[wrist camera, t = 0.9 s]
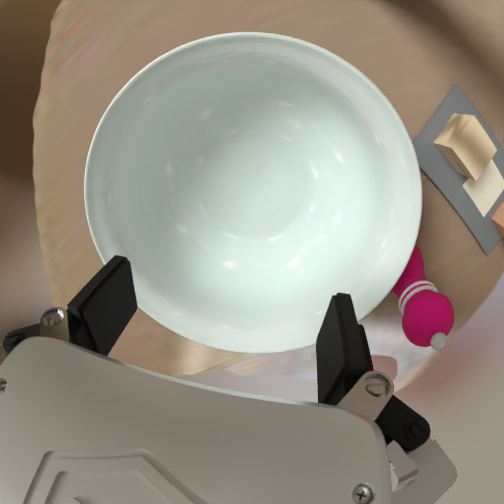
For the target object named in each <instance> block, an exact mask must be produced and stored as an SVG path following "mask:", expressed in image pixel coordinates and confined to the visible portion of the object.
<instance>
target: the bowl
mask: <svg viewBox="0 0 504 504" xmlns="http://www.w3.org/2000/svg"><path fill="white" fill-rule="evenodd" d="M84 197H85V207H86V214H87V220H88V224H89V228H90V232H91V235H92V238H93V241H94V243H95V246H96V248H97V251H98V253H99V255H100V257H101V258H102V260H103V262H104V264H106V263H107V262H108V261H109V260H110V259H111V258H113V257H114V256H115V255H119V256H124V257H127V259H128V260H129V261H130V263H131V269H132V276H133V282H134V288H135V294H136V299H137V306H138V307H139V308H141V309H142V310H143V311H144V312H146V313H147V314H148V315H149V316H151V317H152V318H153V319H155V320H156V321H158V322H159V323H161V324H162V325H164V326H165V327H167V328H169V329H171V330H172V331H174V332H176V333H178V334H180V335H182V336H184V337H186V338H188V339H191V340H193V341H196V342H198V343H201V344H204V345H207V346H211V347H214V348H218V349H223V350H228V351H234V352H243V353H275V352H283V351H290V350H295V349H299V348H304V347H307V346H311V345H314V344H316V339H317V336H318V333H319V331H320V328H321V325H322V323H323V320H324V317H325V314H326V312H327V309H328V306H329V303H330V300H331V297H332V295H336V294H337V293H338V292H339V293H347V294H350V295H351V298H352V302H353V306H354V310H355V314H356V318H357V322H359V321H360V320H361V319H363V318H364V317H365V316H366V315H368V314H369V313H370V312H371V311H372V310H373V309H374V308H375V307H376V306H377V305H378V304H379V303H380V302H381V301H382V300H383V299H384V298H385V297H386V296H387V295H388V293H389V292H390V291H391V289H392V288H393V287H394V285H395V284H396V283H397V281H398V279H399V278H400V276H401V275H402V273H403V271H404V269H405V267H406V265H407V263H408V261H409V259H410V257H411V254H412V252H413V249H414V246H415V243H416V240H417V237H418V232H419V228H420V222H421V215H422V181H421V173H420V168H419V163H418V159H417V155H416V152H415V148H414V145H413V143H412V140H411V138H410V136H409V133H408V131H407V129H406V127H405V125H404V123H403V121H402V119H401V118H400V116H399V114H398V113H397V111H396V110H395V108H394V107H393V105H392V104H391V103H390V101H389V100H388V99H387V97H386V96H385V95H384V94H383V93H382V91H381V90H380V89H379V88H378V87H377V86H376V85H375V84H374V83H373V82H372V81H371V80H370V79H369V78H368V77H367V76H366V75H364V74H363V73H362V72H361V71H359V70H358V69H357V68H355V67H354V66H353V65H351V64H350V63H348V62H347V61H345V60H344V59H342V58H341V57H339V56H337V55H336V54H334V53H332V52H330V51H328V50H326V49H324V48H322V47H319V46H317V45H314V44H312V43H309V42H307V41H304V40H300V39H297V38H293V37H289V36H284V35H278V34H272V33H261V32H236V33H227V34H219V35H214V36H210V37H206V38H202V39H199V40H196V41H192V42H190V43H187V44H184V45H182V46H179V47H177V48H175V49H173V50H171V51H169V52H167V53H166V54H164V55H162V56H160V57H159V58H157V59H156V60H154V61H153V62H151V63H150V64H148V65H147V66H146V67H144V68H143V69H142V70H141V71H140V72H138V73H137V74H136V75H135V76H134V77H133V78H132V79H131V80H130V81H129V82H128V83H127V84H126V85H125V86H124V87H123V88H122V89H121V90H120V92H119V93H118V94H117V95H116V97H115V98H114V99H113V101H112V102H111V104H110V105H109V107H108V108H107V110H106V111H105V113H104V115H103V117H102V118H101V120H100V122H99V125H98V127H97V129H96V131H95V134H94V137H93V140H92V142H91V146H90V149H89V153H88V157H87V163H86V169H85V180H84Z"/></svg>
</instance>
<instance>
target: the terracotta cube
mask: <svg viewBox="0 0 504 504" xmlns="http://www.w3.org/2000/svg"><path fill="white" fill-rule="evenodd" d="M491 219H492V220H493V222H494V224H495V226H496V227H497V229H498V231H499V233H500V235H501V236H502V237H503V238H504V201H503V203H502V204H501V205H500V207H499V208H498V210H497V211H496V212H495V214H494V215H493V217H492V218H491Z"/></svg>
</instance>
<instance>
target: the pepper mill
mask: <svg viewBox="0 0 504 504" xmlns="http://www.w3.org/2000/svg"><path fill="white" fill-rule="evenodd" d="M391 291H393V292H394V293H395V294H396V295H397V296H398V298H399V310H400V311H401V314H402V316H403V318H402V327H403V331H404V333H405V335H406V337H407V338H408V339H409V341H410V342H411V343H413V344H415V345H417V346H421V347H428V346H432V348H433V349H435V350H441V349H443V348H444V347H445V346H446V344H447V337H446V336H447V335H448V333H449V332H450V330H451V328H452V325H453V322H454V311H453V307H452V305H451V302H450V301H449V300H448V298H447V297H446V296H444V295H443V294H441V293H439V292H438V290H437V289H436V287H435V286H434V284H433V283H431V282H429V281H426V279H425V276H424V270H423V259H422V256H421V253H420V251H419V249H418V248H417V246H416V245H415V246H414V249H413V252H412V254H411V257H410V259H409V261H408V263H407V265H406V267H405V269H404V271H403V273H402V275H401V276H400V278H399V279H398V281H397V283H396V284H395V285H394V287H393V288H392V289H391Z"/></svg>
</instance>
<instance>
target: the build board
mask: <svg viewBox="0 0 504 504" xmlns="http://www.w3.org/2000/svg"><path fill="white" fill-rule="evenodd" d="M454 113H457V114H466V115H474V116H475V117H476V119H477V120H478V122H479V123H480V124H481V126H482V127H483V129H484V130H485V132H486V133H487V135H488V136H489V138H490V139H491V141H492V143H493V144H494V146H495V147H496V149H497V151H496V153H495V154H494V156H493V157H492V159H491V160H490V162H489V163H488V165H487V166H486V168H485V169H484V171H483V172H482V174H481V175H480V177H479V178H478V179H477V181H474V180H472V179H470V178H468V177H466V176H464V175H462V174H460V173H458V172H457V171H456V170H455V169H454V167H453V166H452V165H451V163H450V162H449V161H448V160H447V158H446V157H445V156H444V155H443V154H442V152H441V151H440V150H439V149H438V148H437V146H436V145H435V144H434V143H433V142H434V140H435V139H436V138H437V136H438V135H439V134H440V132H441V131H442V130H443V128H444V127H445V125H446V124H447V123H448V121H449V120H450V118H451V117H452V115H453V114H454ZM412 143H413V145H414V148H415V152H416V155H417V159H418V163H419V168H420V169H421V170H422V171H423V172H424V173H425V174H426V175H427V177H428V178H429V179H430V180H431V181H432V182H433V183H434V185H435V186H436V187H437V188H438V189H439V190H440V192H441V193H442V194H443V195H444V197H445V198H446V199H447V200H448V202H449V203H450V204H451V205H452V207H453V208H454V209H455V211H456V212H457V213H458V215H459V216H460V217H461V219H462V220H463V221H464V223H465V224H466V226H467V227H468V228H469V230H470V231H471V233H472V234H473V236H474V237H475V239H476V240H477V242H478V243H479V245H480V246H481V248H482V249H483V251H484V253H485V254H486V255H487V256H488V254H489V253H490V252H491V251H492V250H493V248H494V247H495V246H496V244H497V243H498V242H499V241H500V239H501V238H502V236H501V235H500V233H499V231H498V229H497V227H496V226H495V224H494V222H493V220H492V219H491V218H492V217H493V215H494V214H495V212H496V211H497V210H498V208H499V207H500V205H501V204H502V203H503V201H504V151H503V149H502V147H501V146H500V144H499V142H498V141H497V139H496V137H495V136H494V134H493V133H492V131H491V130H490V128H489V126H488V125H487V123H486V122H485V121H484V119H483V118H482V116H481V115H480V113H479V112H478V111H477V109H476V108H475V107H474V105H473V104H472V103H471V101H470V100H469V99H468V97H467V96H466V95H465V94H464V92H463V91H462V90H461V89H460V88H459V86H458V85H454V86H453V87H452V88H451V90H450V91H449V93H448V94H447V96H446V97H445V98H444V100H443V101H442V103H441V104H440V106H439V107H438V108H437V110H436V111H435V112H434V114H433V115H432V117H431V118H430V119H429V121H428V122H427V123H426V125H425V126H424V127H423V129H422V130H421V131H420V133H419V134H418V135H417V137H416V138H415V139H414V141H413V142H412Z"/></svg>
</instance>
